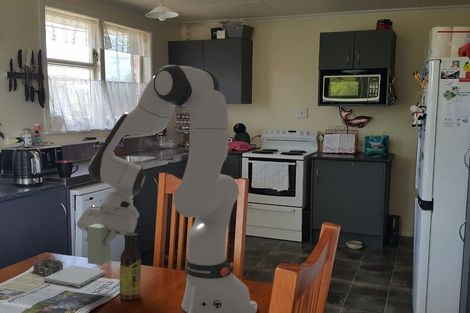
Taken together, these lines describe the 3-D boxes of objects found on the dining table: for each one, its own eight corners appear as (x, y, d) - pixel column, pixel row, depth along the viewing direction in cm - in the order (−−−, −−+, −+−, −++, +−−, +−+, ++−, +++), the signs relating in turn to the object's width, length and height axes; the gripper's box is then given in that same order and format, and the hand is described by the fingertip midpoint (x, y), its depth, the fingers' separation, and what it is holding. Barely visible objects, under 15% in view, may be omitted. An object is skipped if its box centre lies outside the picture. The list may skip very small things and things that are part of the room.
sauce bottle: (135, 302, 138) (135, 237, 137) (115, 300, 140) (116, 235, 138) (143, 294, 145) (144, 232, 143) (125, 292, 146) (125, 230, 144)
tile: (105, 273, 162) (105, 270, 162) (79, 287, 148) (79, 284, 148) (72, 268, 166) (72, 265, 166) (44, 281, 153) (44, 277, 153)
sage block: (110, 260, 150) (110, 224, 149) (101, 265, 146) (100, 227, 145) (97, 258, 152) (97, 223, 151) (87, 263, 147) (87, 226, 146)
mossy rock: (30, 270, 164) (30, 258, 164) (50, 265, 170) (50, 254, 170) (46, 277, 158) (45, 265, 157) (66, 271, 163) (66, 260, 163)
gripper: (84, 200, 157) (65, 235, 149) (136, 204, 150) (119, 241, 142) (92, 210, 161) (74, 245, 153) (143, 215, 155) (127, 251, 146)
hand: (96, 243), depth 147 cm, fingers closed on sage block, 5 cm apart
